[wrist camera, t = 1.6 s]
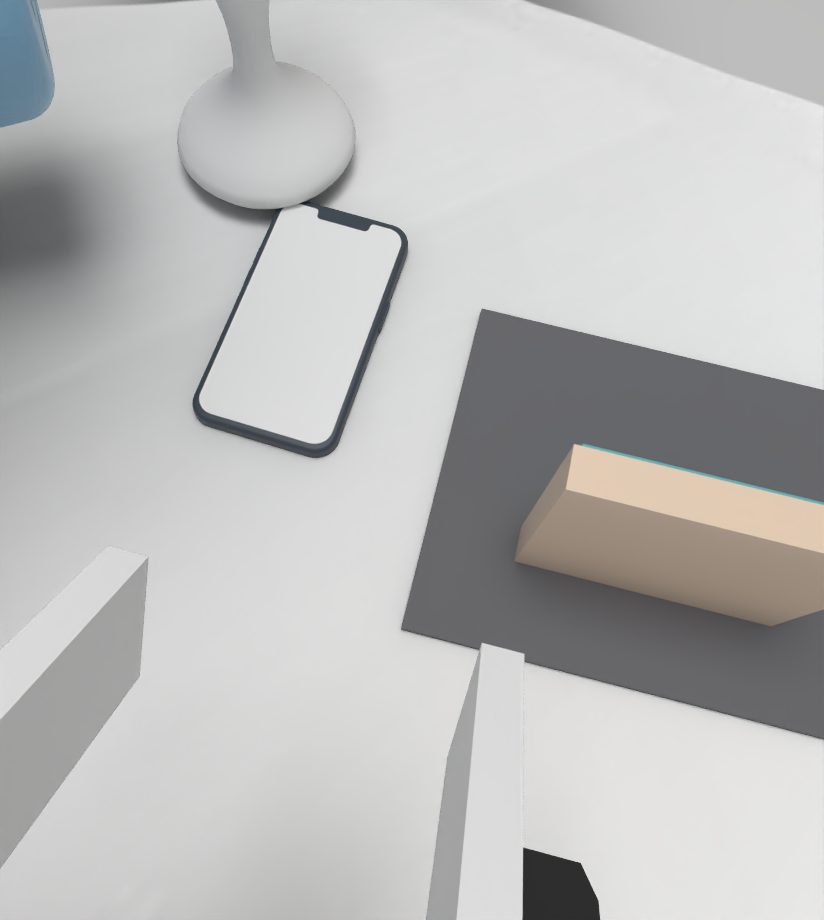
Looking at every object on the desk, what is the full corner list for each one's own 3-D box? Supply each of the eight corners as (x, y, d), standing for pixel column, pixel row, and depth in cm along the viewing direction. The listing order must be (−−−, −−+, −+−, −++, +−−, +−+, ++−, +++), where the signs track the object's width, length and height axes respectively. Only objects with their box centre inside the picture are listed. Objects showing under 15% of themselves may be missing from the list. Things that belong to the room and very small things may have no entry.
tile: (514, 561, 41) (565, 489, 30) (522, 521, 42) (575, 437, 31) (771, 626, 41) (920, 577, 30) (774, 585, 42) (921, 522, 30)
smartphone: (333, 467, 44) (413, 245, 49) (331, 458, 43) (415, 229, 48) (189, 424, 45) (284, 208, 50) (182, 413, 43) (281, 192, 49)
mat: (401, 629, 40) (401, 628, 40) (480, 312, 47) (481, 308, 47) (856, 747, 39) (861, 747, 39) (867, 404, 46) (871, 401, 46)
